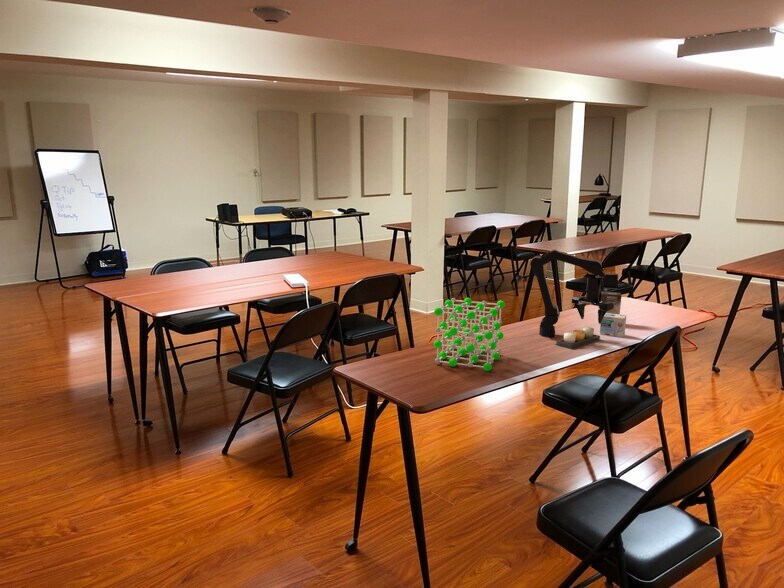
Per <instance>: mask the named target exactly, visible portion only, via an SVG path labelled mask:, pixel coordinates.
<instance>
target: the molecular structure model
mask: <svg viewBox="0 0 784 588" xmlns="http://www.w3.org/2000/svg"><path fill="white" fill-rule="evenodd" d="M455 302H460V303H461V302H462V303H461V304H455ZM472 304H476V305H472ZM486 305H491V306H492V305H493V306H494V305H495V306H494V307H490V306H489V307H487V306H486ZM505 306H506V304H505V301H503V300H498V301H497V303H494V302H488V301H486V300H482V301H473V300H472V298H470V297H465V298H464V300H461V299H460V300H459V299H456V298H455V297H452V298H451V299H447V300H445V302H444V305H441V306H440V307H435V309H434V311H433V312H434V315H435V316H437V319H436V320H437V321H436V322H437V324H436V325H437V327H436V328H435V332H436V333H437V334H436V336H437V337H436V340H435V341H434V342H433V347H434V348H436V358H435V359H434V362H435V363H436V364H439V363H444V364H445V363H446V364H449V366H450V367H451V368H452V367H456V366H457V365H458V366H459V365H460V366H467V367H468V368H472V367H475V368H481V369H482V368H483V370H484V371H485V372H490V371H491V370H492V368H493V365H492V364H493V363H494V361H498V360H499V359H500V354H501V353H502V351H501V349H500V347H501V340H503V339H504V335H505V334H504V332H502V331H501V325H502V324H503V321H502V309H504V308H505ZM465 308H466V309H465ZM469 308H474V309H469ZM446 310H447V311H446ZM450 310H452V311H451V312H450ZM485 310H489V311H485ZM498 311H499V313H498ZM465 312H466V313H465ZM445 314H447V318H446V320H445ZM485 314H486V315H485ZM498 314H499V318H498ZM441 315H442V321H441V322H440V316H441ZM460 316H462V317H460ZM477 317H478V318H477ZM494 318H495V319H494ZM469 321H470V322H469ZM473 321H474V322H473ZM450 323H452V325H450ZM455 324H456V326H455ZM469 326H470V327H469ZM481 327H482V328H481ZM485 327H487V329H485ZM490 327H491V328H490ZM440 332H441V333H442V335H441V338H440V335H439V334H440ZM460 334H461V335H460ZM464 340H465V341H464ZM468 340H469V341H468ZM472 341H473V342H472ZM486 341H487V343H485V342H486ZM445 342H446V344H444V343H445ZM481 342H482V343H481ZM497 344H498V345H497ZM445 347H446V348H445ZM476 347H477V348H476ZM444 348H445V350H444ZM439 349H441V351H440V352H439ZM455 349H456V350H455ZM449 353H452V355H448V354H449ZM485 353H486V354H485ZM489 354H490V355H489ZM466 355H468V356H469V357H467V358H465V356H466ZM479 357H486V360H485V359H484V360H482V359H479ZM446 358H448V359H449V358H450V359H449V360H448V361H447V360H446V361H445V359H446ZM443 360H444V361H443ZM458 360H465V361H466V360H467V361H468V363H461V362H460V363H459V362H458ZM478 362H483V363H484V364H483V365H476V364H477V363H478ZM474 363H475V364H474Z"/></svg>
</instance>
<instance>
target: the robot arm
mask: <svg viewBox="0 0 784 588" xmlns="http://www.w3.org/2000/svg"><path fill="white" fill-rule="evenodd" d="M554 260H556V261H559V262H563V263H566V264H569V265H572V266H577V267H579V268H581V269H582V270H585V271H587V272H586V273H584V274H583V279H587V282H586V289H584V293H585V294H586V295H585V296H583V295H575V296H573V297H572V298H571V303H572V304H573V306H575V308H576V311H578V313H579V317H580V319H581V320H584V318H585V310H586V309H585V308H586V305H591V306H595V307H598V309H597V322H598V324H599V325H600V323H601V321H602V319H603V317H604V315H605V314H606V312H607V311H609V310H611V309H614V304H613V303H612V302H607V301H606V300H607V297H608V295H605V294H603V293H602V291H603V290H602V289H601V286H602V287H603V288H604V289H608V290H609V289H610V290H619V289H618V288H619V274H618V273H606V271H605V270H604V269H603V265H602V261H600V260H599V259H596V258H588V257H586V258H584V257H579V256H577V255H574V254H570V253H566V252H564V251H560V250H557V249H552V250H551V251H549V252H546V253H544V254H542V255H535V256H534V257H532V258H531V261H530V265H529V266H530V269H531V270H532V272H533V274H534V275H535V277H536V280H537V284H538V287H539V290H540V295H541V299H542V301H543V305H544V317H542V319H541V321H540V323H539V334H538V335H539V336H540V337H543V338H550V339H553V338H555V337H556V329H555V328H556V326H555V325H556V324H557V323H558V322H559V318H560V314H561V312H560V311H559V305H558V304H557V305H555V304H554V302H553V299H552V295H551V292H550V288H549V284H548V281H547V276H546V264H548V263H550V262H553V261H554ZM601 281H602V282H601ZM601 301H604V302H601Z"/></svg>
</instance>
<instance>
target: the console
mask: <svg viewBox="0 0 784 588" xmlns="http://www.w3.org/2000/svg"><path fill="white" fill-rule="evenodd" d="M601 341H602V339H601V335H600V334H595V333H594V334H593V337H591V338H586V337H585V338H584V340H582V341H578V340H575V343H573V344H569V343H565V342H564V338H562V339H558V340H556V343H554V344H553V345H554V346H557V347H561V348H565V349H569V350H572V351H574V350H577V349H579V348H583V347H586V346H589V345H592V344H595V343H598V342H601Z"/></svg>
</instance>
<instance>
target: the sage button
mask: <svg viewBox="0 0 784 588" xmlns="http://www.w3.org/2000/svg"><path fill="white" fill-rule="evenodd" d="M581 330H583V331H585V337H586V338H591V337H593V334H595V328H593V327H591V326H583V327H582V329H581Z"/></svg>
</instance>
